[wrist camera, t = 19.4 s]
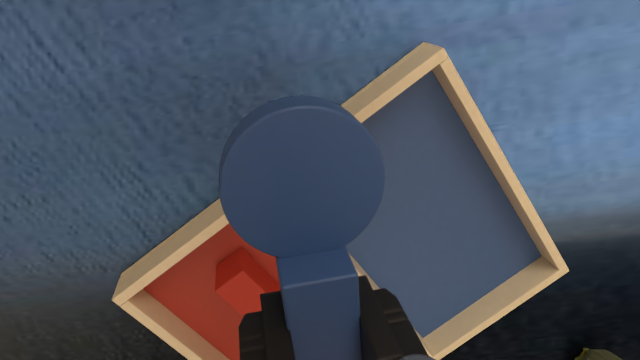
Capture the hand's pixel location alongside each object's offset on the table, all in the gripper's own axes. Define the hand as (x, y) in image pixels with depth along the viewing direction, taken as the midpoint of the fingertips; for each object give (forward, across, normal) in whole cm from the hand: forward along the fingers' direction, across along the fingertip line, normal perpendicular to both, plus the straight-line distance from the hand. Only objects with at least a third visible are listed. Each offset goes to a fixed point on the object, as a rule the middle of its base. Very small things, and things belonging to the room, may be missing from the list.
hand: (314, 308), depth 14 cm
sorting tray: (+13, -4, +8) cm, 16 cm away
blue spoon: (0, 0, 0) cm, 0 cm away
